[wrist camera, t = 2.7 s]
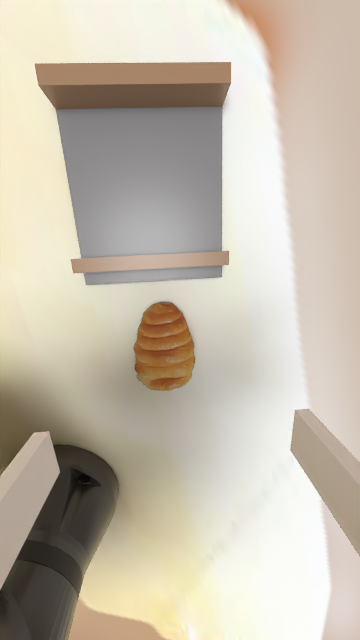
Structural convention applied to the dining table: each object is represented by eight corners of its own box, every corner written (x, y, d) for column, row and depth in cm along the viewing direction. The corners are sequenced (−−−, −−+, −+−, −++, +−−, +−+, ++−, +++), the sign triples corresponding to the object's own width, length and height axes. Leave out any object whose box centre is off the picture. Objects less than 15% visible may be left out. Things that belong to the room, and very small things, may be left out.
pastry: (131, 302, 23) (125, 309, 19) (192, 299, 24) (198, 306, 20) (138, 378, 26) (134, 397, 22) (193, 374, 26) (198, 393, 22)
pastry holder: (88, 284, 22) (76, 287, 19) (53, 77, 17) (30, 39, 14) (220, 276, 23) (228, 279, 20) (220, 75, 18) (231, 38, 15)
